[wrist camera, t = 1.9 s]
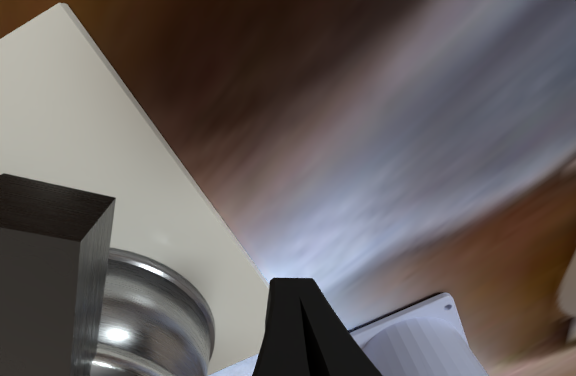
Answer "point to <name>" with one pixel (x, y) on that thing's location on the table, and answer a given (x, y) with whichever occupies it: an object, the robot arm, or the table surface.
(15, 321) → the lid
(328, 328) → the robot arm
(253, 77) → the table surface
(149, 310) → the pot
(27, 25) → the plate
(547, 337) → the table surface
